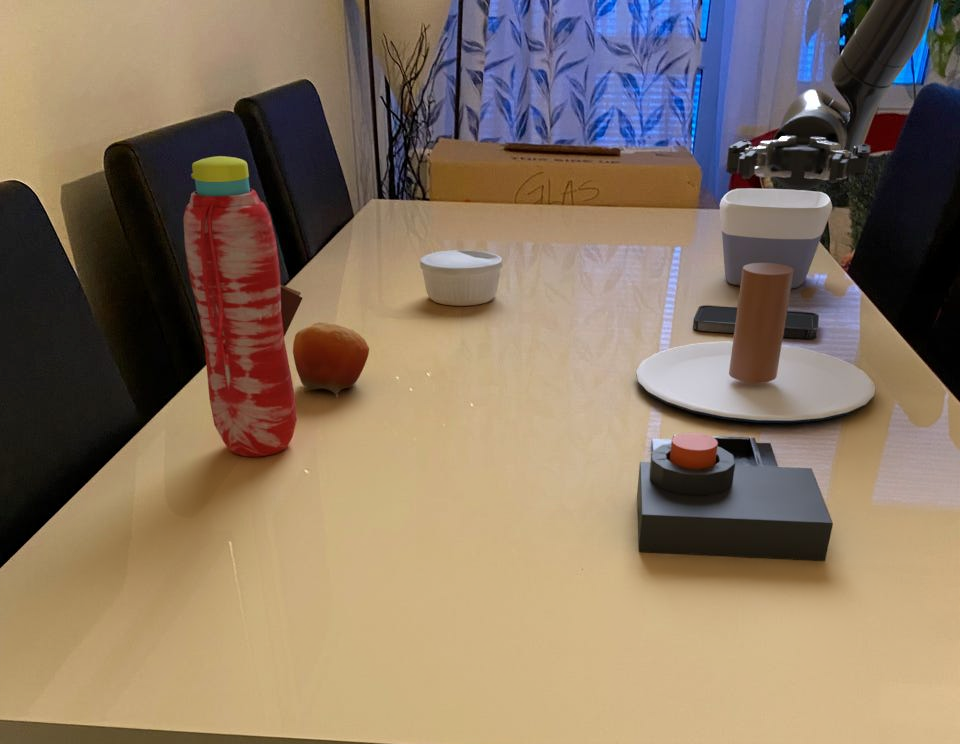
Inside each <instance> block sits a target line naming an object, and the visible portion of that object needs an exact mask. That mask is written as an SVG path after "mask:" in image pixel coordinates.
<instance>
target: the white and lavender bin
mask: <svg viewBox="0 0 960 744" xmlns="http://www.w3.org/2000/svg"><path fill="white" fill-rule="evenodd" d="M832 210H833V204H832V201H831V198H830V197H829V195H828V194H827V193H824V192H822V191H813V190H793V189H788V188H787V189H786V188H785V189H784V188H783V189H782V188H753V187H751V188H747V187H746V188H735V189H731V190H729V191H728V192H727V193H725V194H724V195H723V197H722V198H721V199H720V202H719V215H720V228H721V239H722V240H721V241H722V251H723V252H722V253H723V266H724V267H723V268H724V277H725V280H726V282H728V283H729V284H730V285H733V286H737V287H738V286H739V287H740V286H741V278H742V271H743V267H744V266H745V265H748V264H752V263H776V264H782V265H786V266H789V267H791V268H793V270H794V272H793V278H792V284H791V290H793V289H796V288H798V287H800V286H801V285H802V284H803V283H805V281H806V279H807V277H808V274H809V271H810V268H811V265H812V263H813V260H814V257H815V255H816V252H817V249H818V247H819V244H820V242H821V239H822V236H823V233H824V231H825V229H826V226H827V223H828V221H829V219H830V216H831V213H832Z"/></svg>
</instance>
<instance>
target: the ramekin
mask: <svg viewBox="0 0 960 744" xmlns="http://www.w3.org/2000/svg"><path fill="white" fill-rule="evenodd" d="M503 263H504V262H503V258H502V257H501V256H499V255H497V254H495V253H492V252H489V251H481V250H471V249H454V250H453V249H452V250H451V249H450V250H440V251H436V252H431V253H428V254H426V255H423V256H422V257H421V258H420V259H419V266H420V269H421V270H422V275H423V281H424V285H425V291H426V294H427V296H428V297H429V298H430V299H431V300H432V301H433V302H434V303H437V304H441V305H445V306H456V307H467V306H468V307H469V306H476V305H477V306H478V305H481V304H486V303H489V302H490V301H492V300H493V299H494V297H496V295H497V293H498V287H499V282H500V276H501V269H502V268H503Z"/></svg>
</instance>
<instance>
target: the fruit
mask: <svg viewBox="0 0 960 744" xmlns="http://www.w3.org/2000/svg"><path fill="white" fill-rule="evenodd" d="M292 354H293V360H294V365H295V369H296V372H297V375H298V378H299V381H300V382H301V384H302V386H303V387H304V390H305V393H307V392H309V391H312V390H317V389H321V390H322V389H323V390H327V391H330V392H332V393H334V394H335V398H336V399H339V392H340V391H341V390H343V389H344V390H345V389H347V388H353V386H354V385H355V384H356V383H357V381H358V380H359V378H360V376H361V375H362V371H363V370H364V368H365V365H366V363H367V361H368V357H369V354H370V347H369V345H368V343H367V341H366V339H365V338H364V337H363V336H362V335H361V334H359V333H358V332H357V331H355V330H354V329H352V328H348V327H345V326H342V325H339V324H335V323H328V322H315V323H313V324H311V325H310V326H307V327H305V328H302V329H300V330H298V331H297V332H296V333H295V335H294V340H293V346H292Z"/></svg>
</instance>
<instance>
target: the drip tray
mask: <svg viewBox="0 0 960 744" xmlns="http://www.w3.org/2000/svg"><path fill="white" fill-rule="evenodd" d="M676 435H677V434H673V435H672V438H673V437H674V436H676ZM710 436H711V437H713V438H715V439H716V440H717V442H718V447H721V448H723V449H724V450H726V451H728V452H729V453H731V454H733V456H734V460H735V465H740V466H766V467H779V465H778V462H777V459H776V456H775V453H774V449H773V447H772V443H771V442H757V440H756V437H752V436H751V437H748V436H722V435H721V436H720V435H719V436H718V435H710ZM672 438H671V439H667V438H651V444H650V445H651V452H652V451H654V450H655V449H657V448H658V447H660V446H661V445H665V444H670V443H671V442H672Z"/></svg>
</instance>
